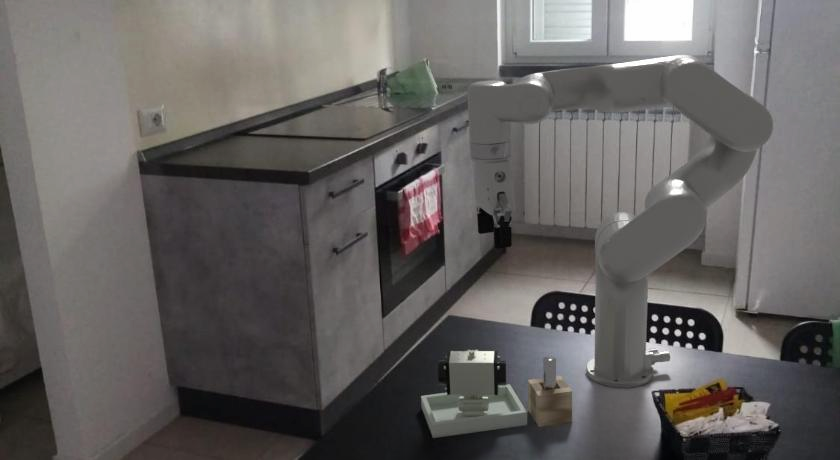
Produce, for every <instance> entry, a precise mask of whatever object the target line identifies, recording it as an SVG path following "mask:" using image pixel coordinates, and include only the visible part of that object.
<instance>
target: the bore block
mask: <svg viewBox="0 0 840 460" xmlns="http://www.w3.org/2000/svg"><path fill="white" fill-rule="evenodd" d="M527 405H528V407H527V411H528V412H529V413H530V415H531V417H532V419H533V421H534V422H535V424H536V425H537V426H538V428H541V427H549V426H550V427H551V426H555V425H562V424H569V423H573V390H572V389H571V388H570V386H569V385H568V383H566V381H565V380H564V378H563V377H562V376H561V375H556V389H552V390H545V391H544V390H543V377H541V378H540V377H539V378H534V379H533V378H532V379H528V380H527Z"/></svg>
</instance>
